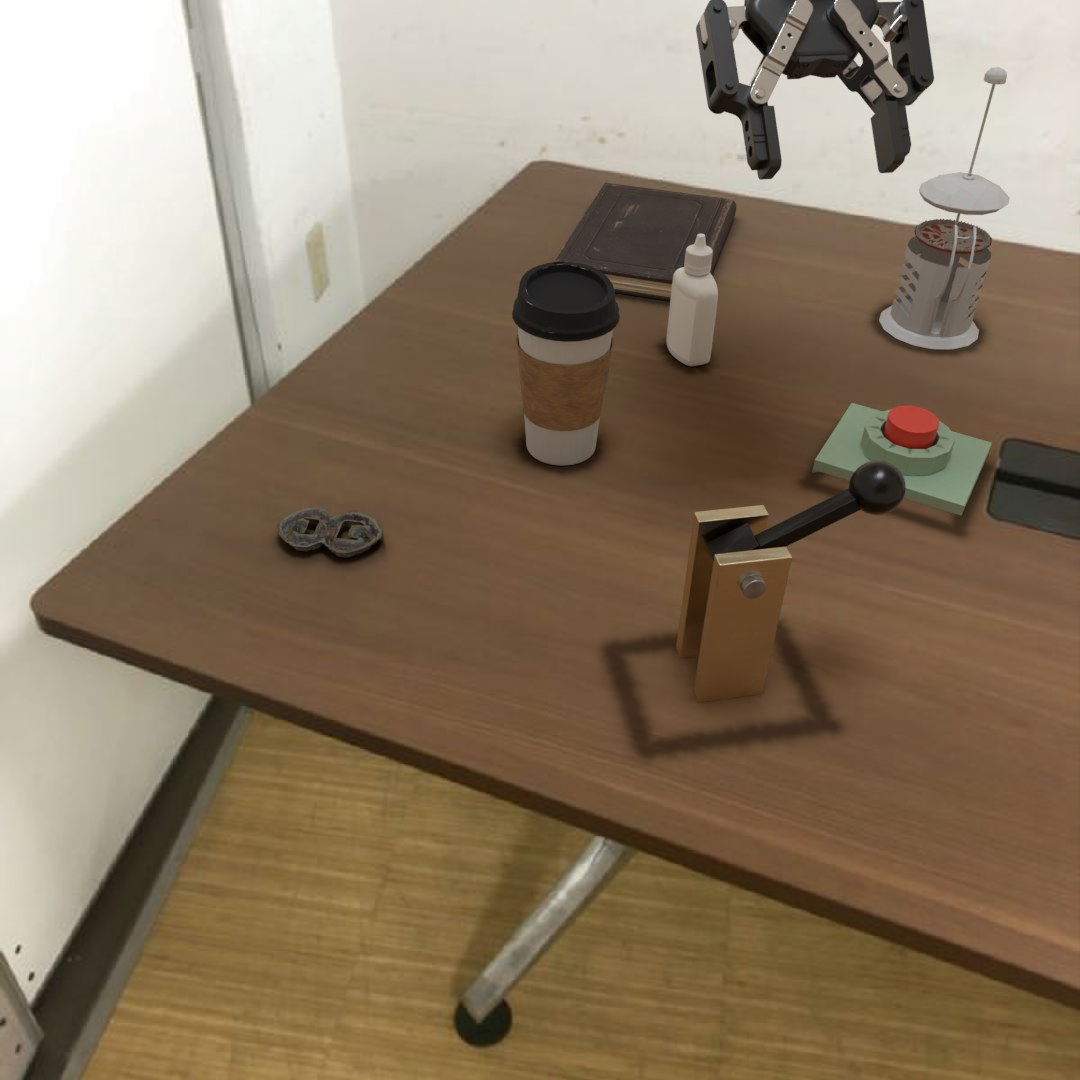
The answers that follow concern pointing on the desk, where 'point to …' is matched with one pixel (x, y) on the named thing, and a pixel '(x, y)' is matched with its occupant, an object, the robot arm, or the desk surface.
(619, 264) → the hardcover book
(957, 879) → the desk surface
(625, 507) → the desk surface
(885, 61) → the robot arm
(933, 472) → the control block
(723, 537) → the black lever handle
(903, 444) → the button
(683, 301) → the eye dropper bottle
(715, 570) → the wooden lever mount
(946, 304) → the french press
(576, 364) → the coffee cup
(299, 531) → the corroded twin loop
